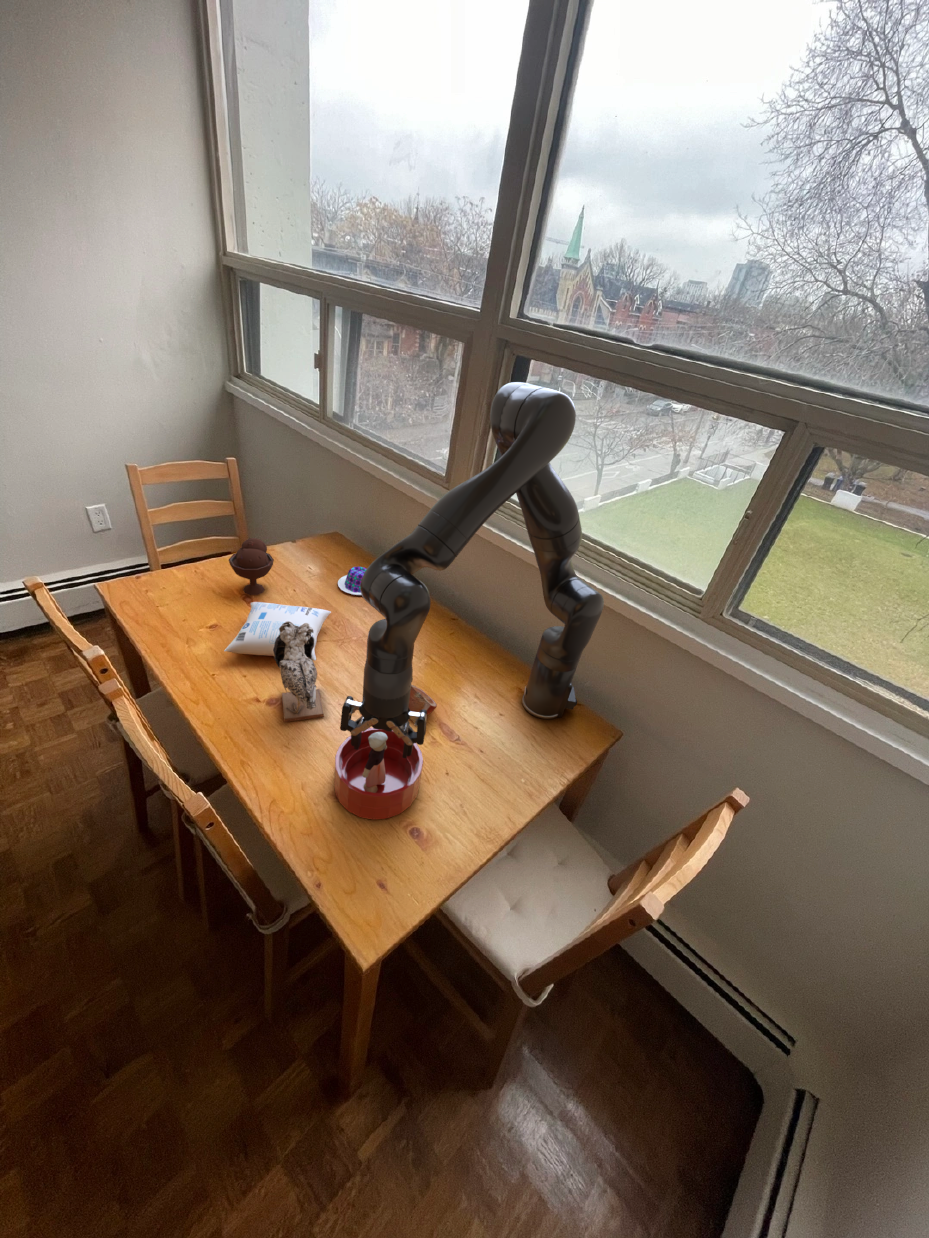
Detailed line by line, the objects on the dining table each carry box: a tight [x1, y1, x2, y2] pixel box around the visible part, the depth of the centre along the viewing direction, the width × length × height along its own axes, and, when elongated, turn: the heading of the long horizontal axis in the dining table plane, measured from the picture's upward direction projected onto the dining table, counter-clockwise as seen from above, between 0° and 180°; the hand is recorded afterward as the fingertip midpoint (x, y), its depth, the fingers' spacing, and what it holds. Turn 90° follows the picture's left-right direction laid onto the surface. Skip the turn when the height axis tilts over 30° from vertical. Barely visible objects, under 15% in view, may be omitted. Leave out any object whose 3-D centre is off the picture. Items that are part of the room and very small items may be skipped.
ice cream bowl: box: [228, 537, 275, 596], centre depth 136 cm, size 11×11×15 cm
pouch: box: [223, 601, 332, 661], centre depth 121 cm, size 8×19×20 cm
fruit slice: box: [409, 684, 438, 716], centre depth 110 cm, size 8×7×5 cm
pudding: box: [337, 566, 367, 596], centre depth 148 cm, size 12×12×5 cm
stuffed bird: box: [273, 621, 325, 723], centre depth 103 cm, size 10×20×17 cm, turn 39°
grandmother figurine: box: [362, 732, 388, 793], centre depth 90 cm, size 8×4×13 cm, turn 171°
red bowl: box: [334, 727, 424, 821], centre depth 92 cm, size 15×15×7 cm
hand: (381, 750), depth 89 cm, fingers open, 8 cm apart
